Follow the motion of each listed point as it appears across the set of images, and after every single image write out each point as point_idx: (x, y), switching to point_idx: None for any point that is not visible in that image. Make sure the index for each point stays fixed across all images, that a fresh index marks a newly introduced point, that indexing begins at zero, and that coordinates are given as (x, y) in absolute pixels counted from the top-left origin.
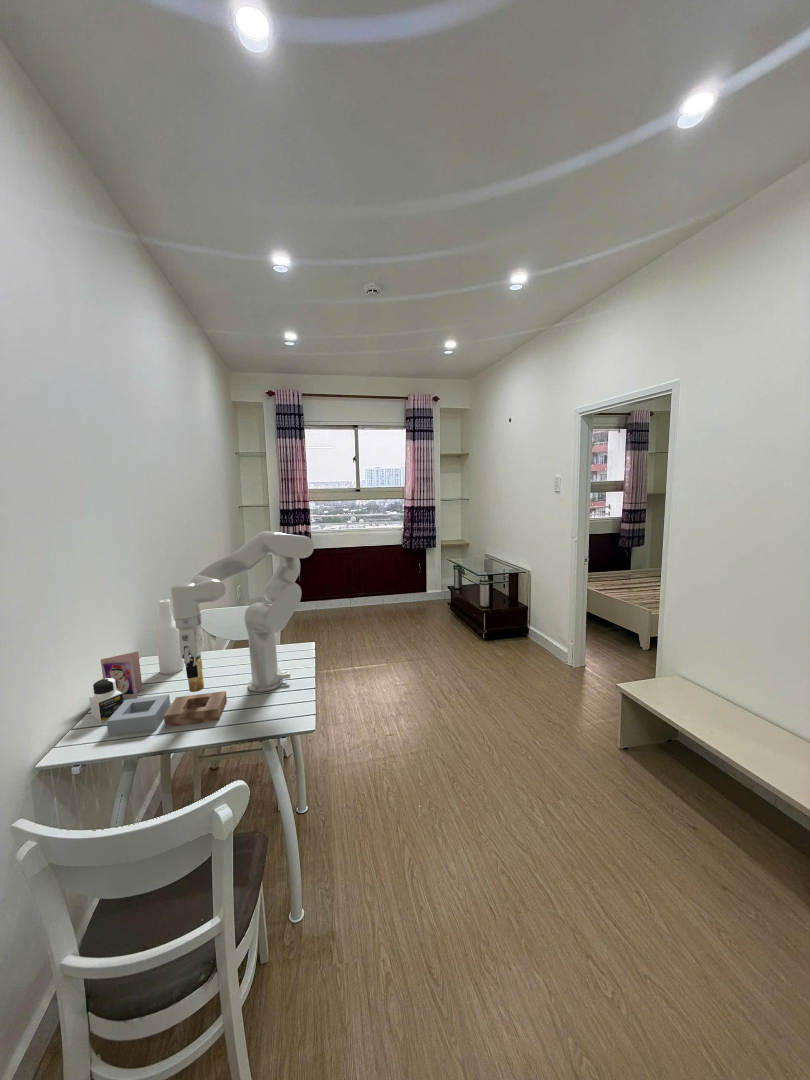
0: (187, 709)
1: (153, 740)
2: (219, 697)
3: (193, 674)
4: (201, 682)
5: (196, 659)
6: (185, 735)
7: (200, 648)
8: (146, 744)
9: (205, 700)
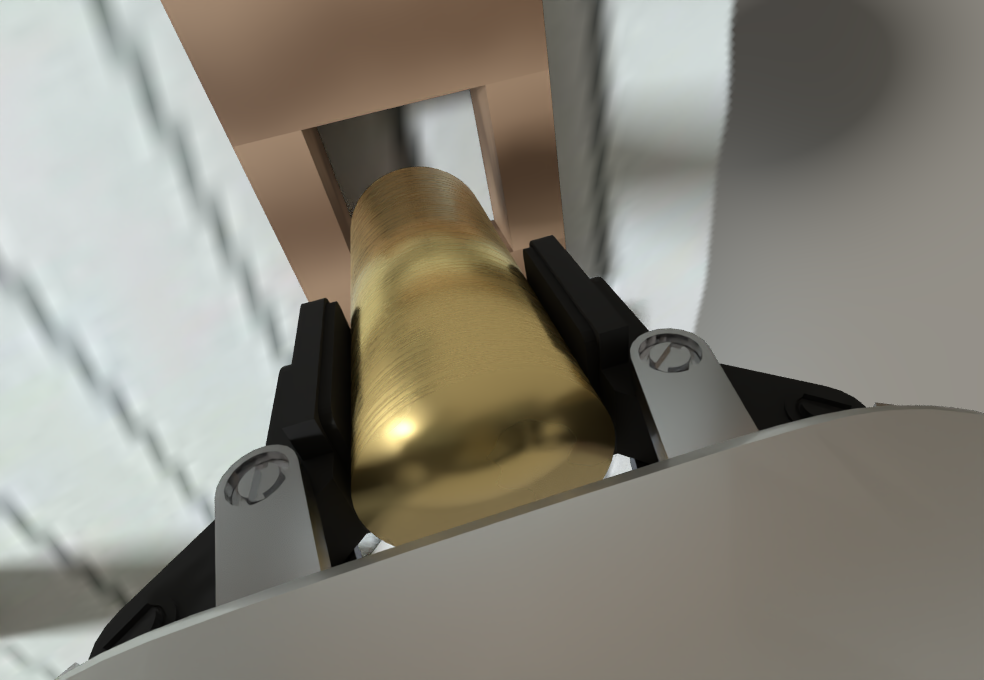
0: (514, 213)
1: (650, 267)
2: (312, 11)
3: (603, 288)
4: (448, 195)
5: (458, 449)
6: (649, 117)
7: (694, 678)
8: (675, 279)
9: (321, 166)
